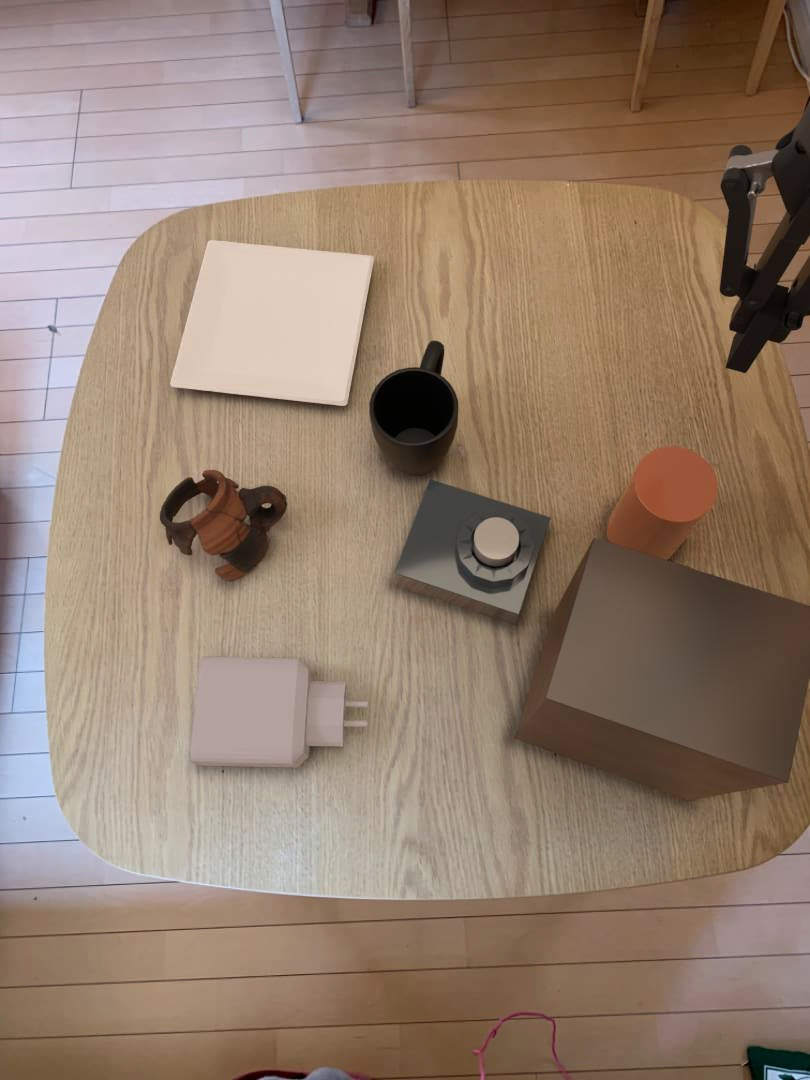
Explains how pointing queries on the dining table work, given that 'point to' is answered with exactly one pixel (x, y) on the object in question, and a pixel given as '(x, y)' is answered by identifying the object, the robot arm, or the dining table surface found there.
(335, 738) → the charger
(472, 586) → the gray button box
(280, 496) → the pottery mug
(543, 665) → the stand
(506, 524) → the round white push button
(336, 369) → the plate
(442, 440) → the mug
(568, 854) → the dining table surface
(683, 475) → the orange cylinder
